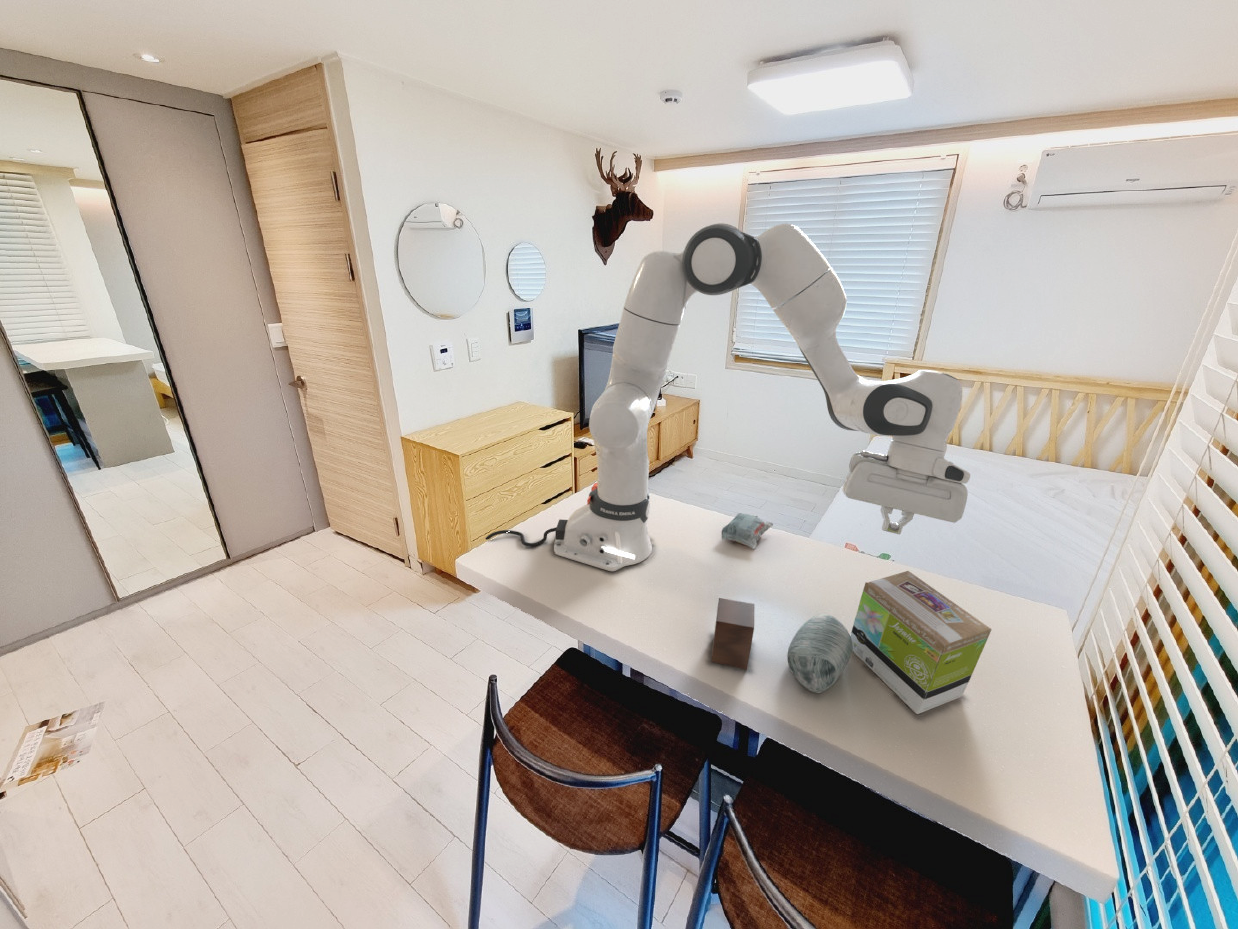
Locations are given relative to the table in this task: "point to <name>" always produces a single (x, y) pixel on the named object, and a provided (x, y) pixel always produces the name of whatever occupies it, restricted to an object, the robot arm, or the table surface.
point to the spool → (819, 652)
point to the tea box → (917, 640)
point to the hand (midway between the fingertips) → (890, 532)
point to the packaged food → (745, 529)
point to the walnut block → (733, 633)
